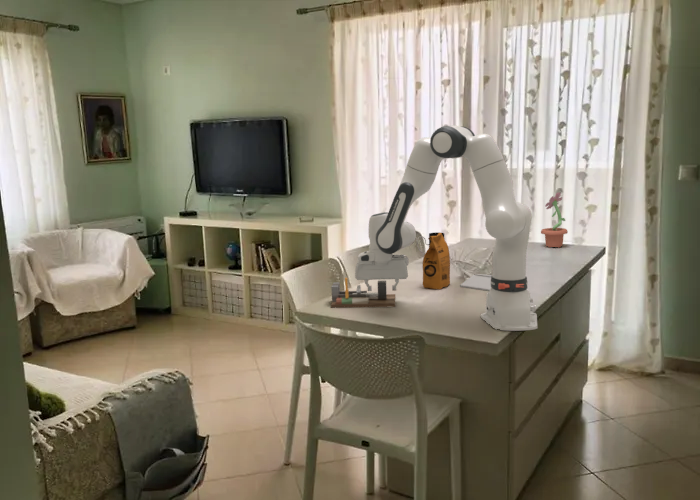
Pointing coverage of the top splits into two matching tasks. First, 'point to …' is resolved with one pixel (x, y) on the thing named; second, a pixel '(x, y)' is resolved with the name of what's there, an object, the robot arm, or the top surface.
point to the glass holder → (429, 240)
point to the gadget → (478, 282)
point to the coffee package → (436, 264)
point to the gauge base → (371, 303)
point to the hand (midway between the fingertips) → (381, 290)
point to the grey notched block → (379, 295)
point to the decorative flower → (555, 234)
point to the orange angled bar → (346, 288)
